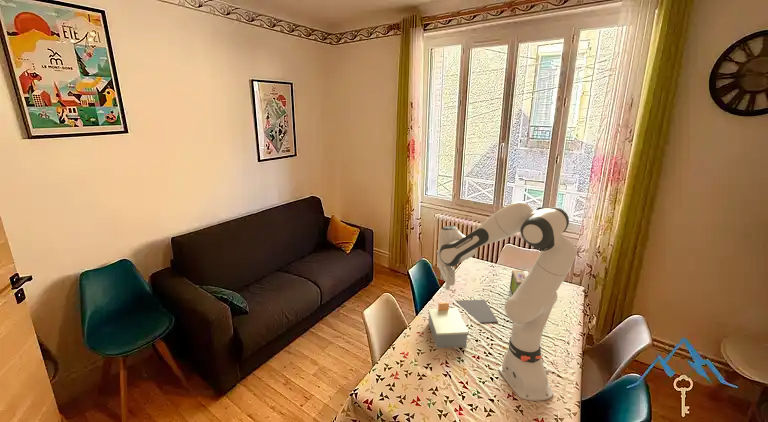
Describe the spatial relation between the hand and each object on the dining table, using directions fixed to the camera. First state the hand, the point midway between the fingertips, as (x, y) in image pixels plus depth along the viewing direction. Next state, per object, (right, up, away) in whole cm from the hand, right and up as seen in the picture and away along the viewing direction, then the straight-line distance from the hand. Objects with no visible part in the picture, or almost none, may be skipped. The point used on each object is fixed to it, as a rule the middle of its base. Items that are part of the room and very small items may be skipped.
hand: (444, 283), depth 165 cm
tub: (+1, -25, 0) cm, 25 cm away
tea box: (+49, -15, +30) cm, 59 cm away
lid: (+1, -19, -3) cm, 19 cm away
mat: (+20, -19, +18) cm, 33 cm away
